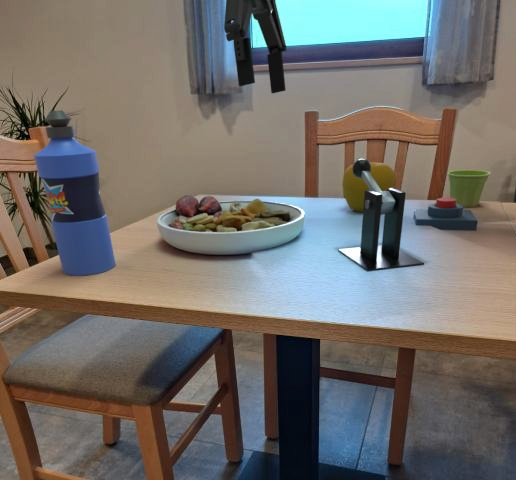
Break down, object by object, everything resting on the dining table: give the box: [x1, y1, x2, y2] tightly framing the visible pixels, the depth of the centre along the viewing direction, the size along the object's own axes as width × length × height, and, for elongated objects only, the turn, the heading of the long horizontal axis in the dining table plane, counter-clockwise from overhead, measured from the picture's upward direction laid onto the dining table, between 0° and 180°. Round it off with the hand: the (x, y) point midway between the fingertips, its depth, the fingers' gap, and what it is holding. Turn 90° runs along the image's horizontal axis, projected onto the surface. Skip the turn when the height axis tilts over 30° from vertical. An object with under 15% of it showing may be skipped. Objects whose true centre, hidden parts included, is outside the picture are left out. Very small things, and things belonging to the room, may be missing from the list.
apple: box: [341, 161, 397, 213], centre depth 114 cm, size 13×13×11 cm
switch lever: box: [352, 158, 395, 216], centre depth 78 cm, size 13×3×3 cm, turn 14°
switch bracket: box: [337, 188, 425, 272], centre depth 77 cm, size 12×10×12 cm
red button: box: [435, 197, 457, 208], centre depth 99 cm, size 4×4×2 cm
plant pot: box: [447, 169, 491, 208], centre depth 111 cm, size 9×9×9 cm
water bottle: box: [33, 110, 116, 277], centre depth 77 cm, size 9×9×25 cm
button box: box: [412, 202, 478, 232], centre depth 100 cm, size 12×10×4 cm
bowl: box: [156, 194, 306, 256], centre depth 95 cm, size 30×30×8 cm
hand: (263, 88), depth 84 cm, fingers open, 13 cm apart
